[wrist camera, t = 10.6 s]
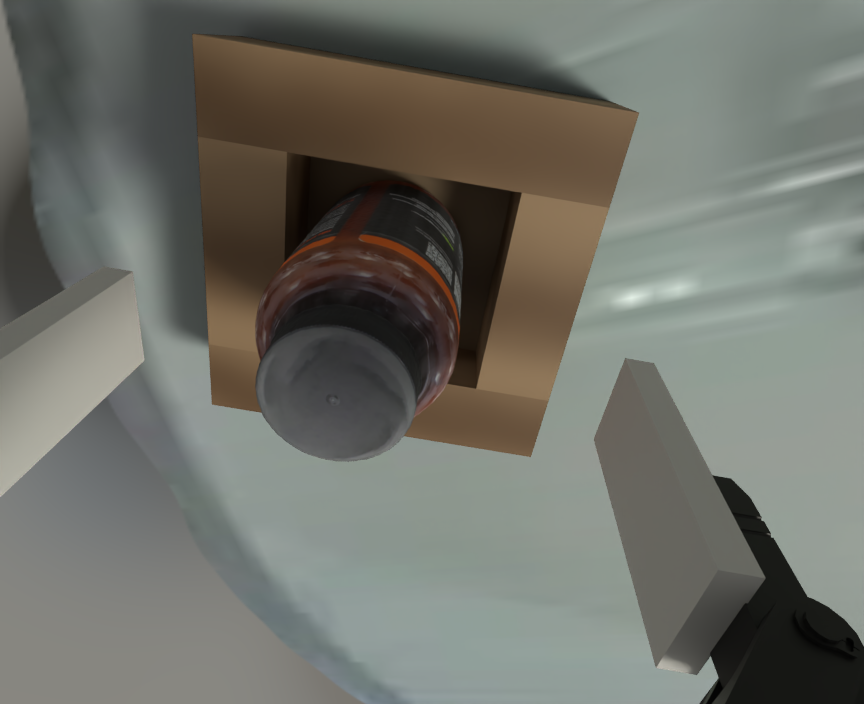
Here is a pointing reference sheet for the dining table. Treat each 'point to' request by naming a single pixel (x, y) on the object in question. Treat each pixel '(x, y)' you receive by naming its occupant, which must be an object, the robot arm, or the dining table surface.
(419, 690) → the dining table surface
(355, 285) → the supplement bottle
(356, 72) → the holder block
